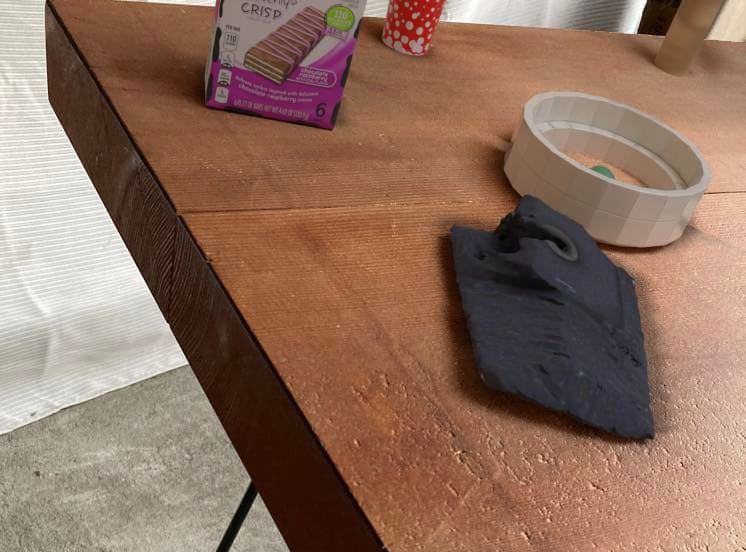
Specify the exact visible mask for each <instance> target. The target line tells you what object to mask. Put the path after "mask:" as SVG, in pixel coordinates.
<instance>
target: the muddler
mask: <svg viewBox="0 0 746 552" xmlns="http://www.w3.org/2000/svg"><path fill="white" fill-rule="evenodd" d="M723 3H724V0H681V2H680V4H679V6H678V8H677V11H676V13H675V15H674V17H673V20H672V21H671V23H670V26H669V28H668V30H667V31H666V34H665V37H664V39H663V40H662V43H661V45H660V47H659V49H658V51H657V53H656V55H655V58H654V60H653V64H654V66H655V67H656V68H657V69H659V70H660V71H662V72H664V73H666V74H668V75H670V76H671V75H672V76H674V77H681V78H684V77H687V75H688V74H689V72H690V69H691V68H692V65H693V63H694V61H695V59H696V57H697V55H698V53H699V52H700V49H701V47H702V45H703V43H704V41H705V39H706V37H707V35H708V33H709V31H710V29H711V27H712V25H713V23H714V20H715V19H716V17H717V14H718V13H719V12H720V11H719V10H720V9H721V8H722V7H721V6H722V5H723Z"/></svg>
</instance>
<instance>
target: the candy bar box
mask: <svg viewBox="0 0 746 552" xmlns="http://www.w3.org/2000/svg"><path fill="white" fill-rule="evenodd" d="M367 2H368V0H215V3H214V11H213V18H212V25H211V30H210V37H209V45H208V51H207V57H206V64H205V65H206V66H205V72H204V95H205V106H206V107H211V108H217V109H221V110H228V111H232V112H238V113H243V114H247V115H252V116H259V117H264V118H270V119H275V120H280V121H287V122H290V123H296V124H302V125H307V126H313V127H318V128H323V129H328V130H334V129H335V126H336V123H337V120H338V119H337V118H338V116H339V115H338V114H339V111H340V106H341V103H342V100H343V96H344V92H345V88H346V84H347V81H348V77H349V72H350V70H351V64H352V61H353V56H354V53H355V49H356V47H357V41H358V38H359V34H360V31H361V26H362V21H363V17H364V14H365V11H366V10H365V9H366V6H367Z"/></svg>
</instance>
